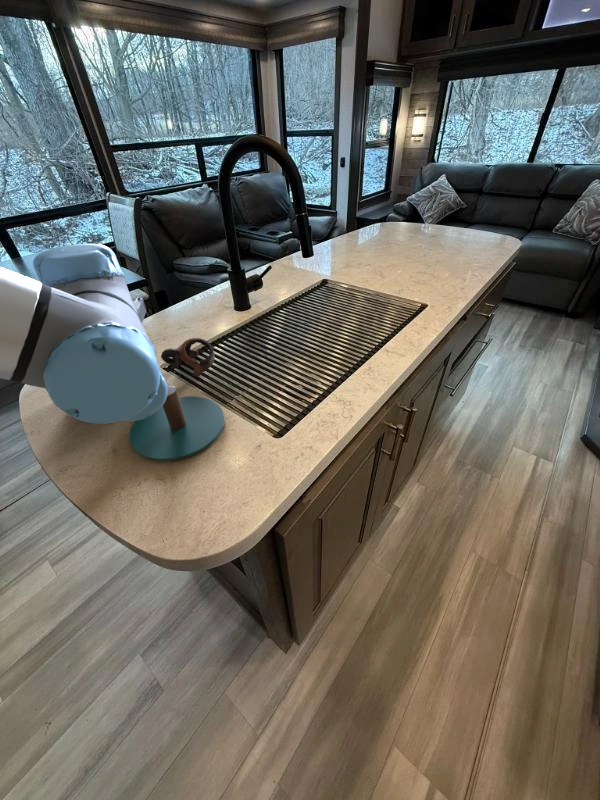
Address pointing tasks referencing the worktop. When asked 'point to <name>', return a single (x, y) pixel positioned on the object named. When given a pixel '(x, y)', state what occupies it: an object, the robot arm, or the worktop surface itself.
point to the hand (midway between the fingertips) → (75, 305)
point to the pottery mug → (189, 356)
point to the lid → (177, 428)
